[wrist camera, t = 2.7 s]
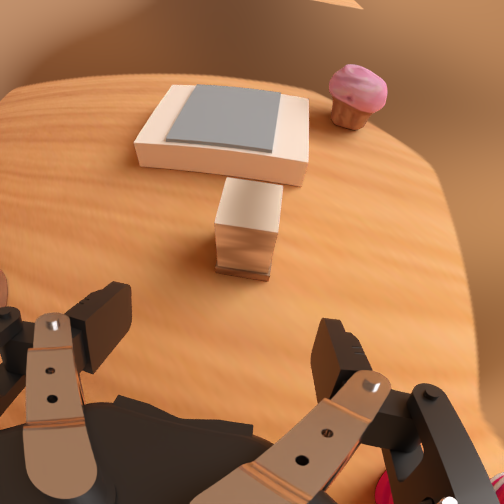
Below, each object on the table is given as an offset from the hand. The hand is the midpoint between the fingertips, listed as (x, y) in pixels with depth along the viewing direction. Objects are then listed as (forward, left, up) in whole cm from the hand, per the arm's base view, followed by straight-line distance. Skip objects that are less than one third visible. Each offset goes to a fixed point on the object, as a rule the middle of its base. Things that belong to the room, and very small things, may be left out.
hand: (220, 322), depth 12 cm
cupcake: (+12, +37, -14) cm, 41 cm away
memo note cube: (0, +11, -14) cm, 18 cm away
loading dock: (-5, +28, -14) cm, 32 cm away
